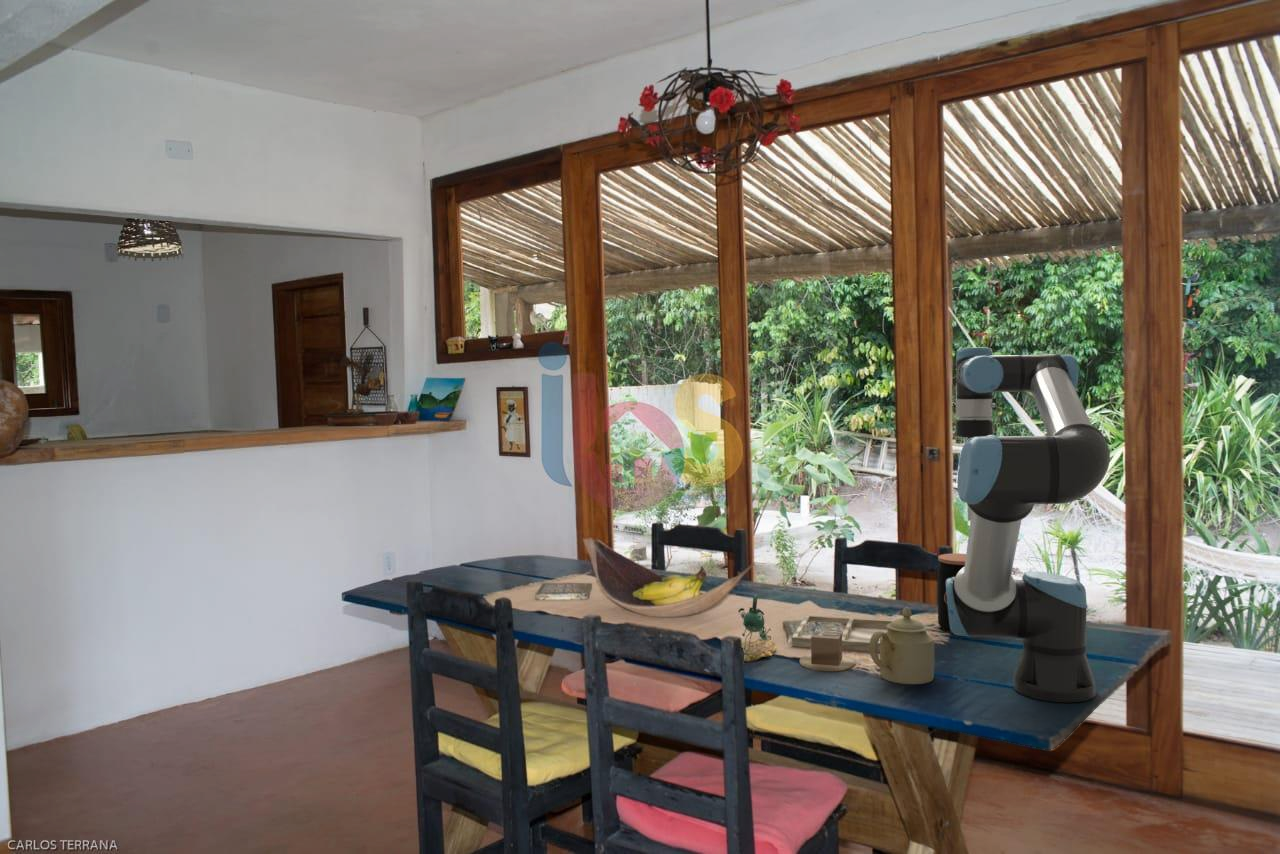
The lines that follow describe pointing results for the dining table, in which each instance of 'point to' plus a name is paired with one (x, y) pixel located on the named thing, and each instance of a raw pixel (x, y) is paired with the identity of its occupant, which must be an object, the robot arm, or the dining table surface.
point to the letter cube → (826, 647)
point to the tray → (845, 631)
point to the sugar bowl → (904, 651)
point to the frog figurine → (755, 624)
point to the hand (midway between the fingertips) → (974, 516)
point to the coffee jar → (946, 569)
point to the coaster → (844, 665)
